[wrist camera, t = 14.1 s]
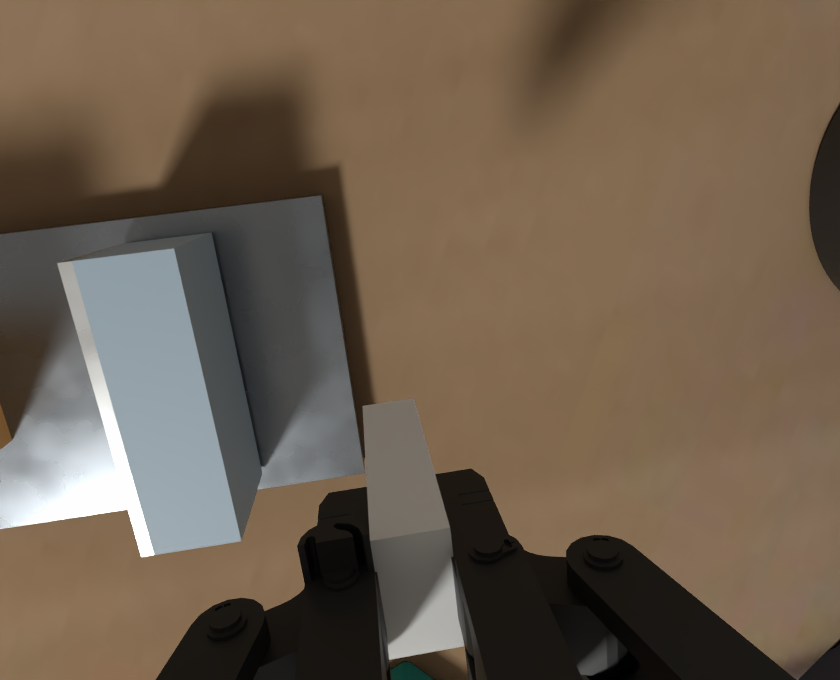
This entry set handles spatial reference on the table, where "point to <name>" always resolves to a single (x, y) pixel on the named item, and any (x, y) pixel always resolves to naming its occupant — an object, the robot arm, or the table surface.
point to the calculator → (825, 667)
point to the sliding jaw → (167, 388)
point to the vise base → (254, 339)
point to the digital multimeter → (408, 672)
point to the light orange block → (4, 431)
